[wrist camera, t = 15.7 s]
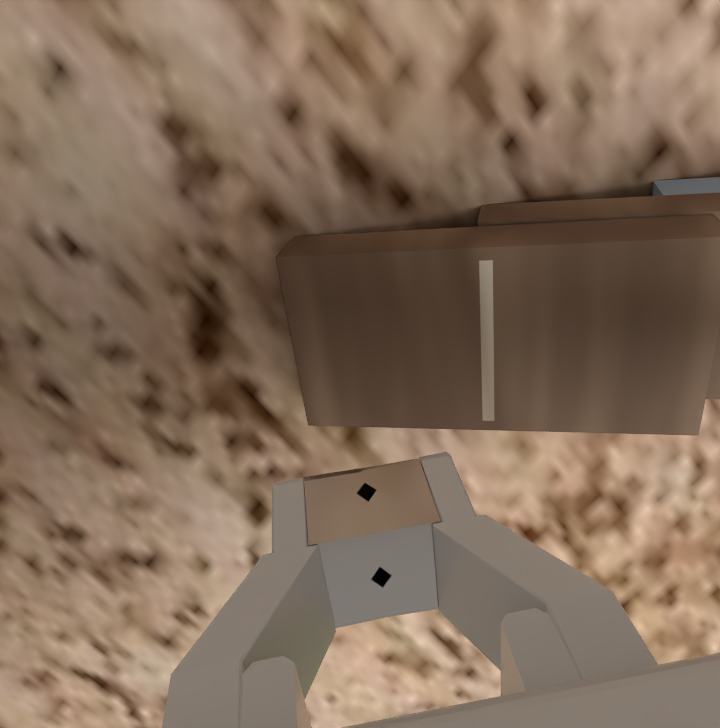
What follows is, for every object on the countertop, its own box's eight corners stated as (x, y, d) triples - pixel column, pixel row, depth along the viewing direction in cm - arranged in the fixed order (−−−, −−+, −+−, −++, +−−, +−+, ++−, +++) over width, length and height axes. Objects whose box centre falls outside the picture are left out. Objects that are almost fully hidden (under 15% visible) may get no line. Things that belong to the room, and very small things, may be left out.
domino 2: (480, 392, 17) (895, 404, 15) (477, 221, 15) (972, 200, 12) (483, 364, 19) (864, 371, 16) (481, 204, 16) (928, 182, 14)
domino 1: (308, 425, 17) (698, 435, 15) (275, 257, 14) (736, 236, 12) (322, 394, 18) (681, 399, 16) (295, 236, 16) (713, 213, 13)
